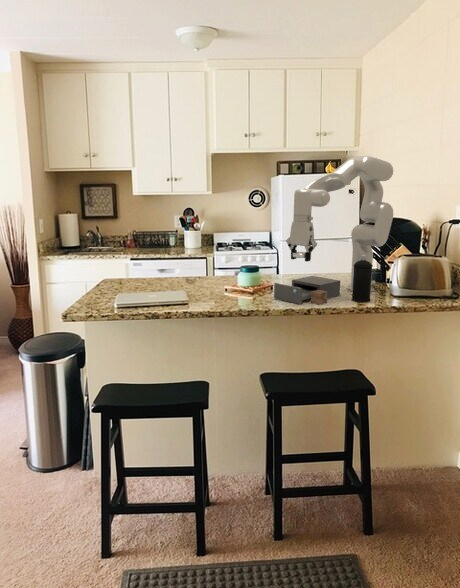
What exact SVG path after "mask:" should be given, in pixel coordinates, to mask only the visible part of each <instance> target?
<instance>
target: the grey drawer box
mask: <svg viewBox="0 0 460 588" xmlns="http://www.w3.org/2000/svg"><path fill="white" fill-rule="evenodd" d="M291 286H293V287H299V288H302V289H307V290H312V291H315V290H321V291H326V292H327V298H328V299H331V297H332V298H336V297H339V295H340V294H341V280H339V279H334V278H333V279H332V278H328V277H321V276H316V275H309V276H304V277H300V278H294V279H291Z"/></svg>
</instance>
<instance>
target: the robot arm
mask: <svg viewBox="0 0 460 588" xmlns="http://www.w3.org/2000/svg"><path fill="white" fill-rule="evenodd" d="M393 175H394V167H393V165H392V164H391V163H390V162H389V161H386V160H382V159H380V158H377V157H374V156H369V155H361V156H359V155H358V156H352V157H349V158H348V159H347V160H345V161H344V162H343V163H342V164H340V165H339V166H338V167H337V168H335V169H334V171H332V172H330V173H328V174H326V175H323V176H321V177H319V178H317V179H315V180H313V181H312V182H310V183H309V184H308V185H306V186H305V187H304V188H303V189H296V190H295V191H294V198H293V221H292V222H291V226H290V231H289V233H290V234H289V237H288V238H287V239H285V242H286V244H287V246H288V248H289V250H290V260H297V258H296V257H293V252H298V250H297V247H298V246H300V247H301V246H302V247H304V249H305V251H304V252H305V258H304V262H311V259H312V258H311V257H312V252H313V251H314V249H315V248H316V247H317V246H318V242H317V241H316V240H315V231H314V230H315V229H314V225H313V224H314V223H313V222H312V221H313V220H314V217H313V216H312V207H317V208H322V207H323V208H324V207H325V206H327V205H329V202H330V201H331V195H330V193H331V192H334V191H339V190H341V189H343V188H345V187H346V186H347V185H349V184H350V183H351V182H353V181H354V180H356V178H357V177H359V178H360V180H361V182H362V183H363V187H364V193H363V199H362V203H361V206H360V207H361V208H360V210H359V218H360V219H361V220H362V221H363V222H365V223H366V224H365V223H364V224H363V223H362V224H361V223H360V224H356V225H355V226H354V227H353V228H352V229H351V234H350V236H351V243H352V244H351V245H352V255H351V256H352V258H351V270H350V273H351V274H350V285H348V286H347V288H346V289H347V291H349V292H351V293H352V292H353V274H354V264H355V263H356V262H357V261H360V260H361V256H362V255H366V261H368V262H370V263H371V264H372V265H373V260H374V253H373V248H372V247H378V248H379V247H382V246H384V245H385V244H386V242H387V241H388V239H389V234H390V231H391V227H392V222H393V220H394V209H393V206H392V205H391V204H390V203H388V202H385V201H383V197H384V188H383V185H382V183H381V182H387V181H389V180H390V179H391V178H392V177H393ZM367 223H374V225H373V224H367ZM375 284H376V280H372V277H371V292H370V293H373V292H374V291H375V288H374V287H373V285H375Z"/></svg>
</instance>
